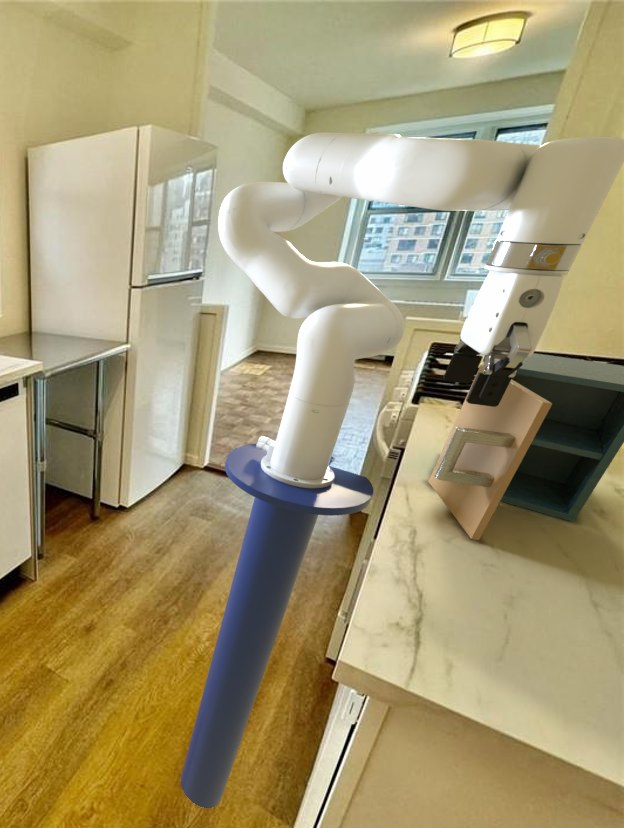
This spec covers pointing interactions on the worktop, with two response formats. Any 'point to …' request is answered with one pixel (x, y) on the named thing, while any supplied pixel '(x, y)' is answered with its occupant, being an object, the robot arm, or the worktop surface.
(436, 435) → the worktop surface
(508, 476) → the fridge door
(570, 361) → the mini fridge
